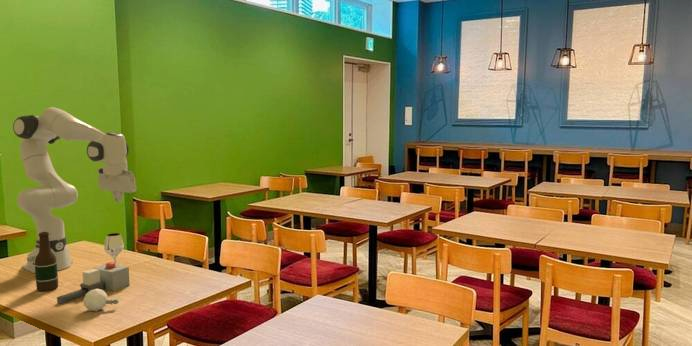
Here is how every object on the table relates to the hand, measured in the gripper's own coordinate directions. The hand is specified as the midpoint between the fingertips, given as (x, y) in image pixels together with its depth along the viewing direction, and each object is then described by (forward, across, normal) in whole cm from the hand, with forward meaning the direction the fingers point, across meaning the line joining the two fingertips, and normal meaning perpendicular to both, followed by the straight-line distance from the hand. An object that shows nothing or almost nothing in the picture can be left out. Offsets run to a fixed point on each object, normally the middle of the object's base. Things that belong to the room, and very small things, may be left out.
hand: (118, 201), depth 219 cm
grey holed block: (+34, -6, +10) cm, 36 cm away
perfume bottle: (+34, -25, +29) cm, 51 cm away
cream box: (+34, -6, +19) cm, 39 cm away
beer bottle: (+34, +14, +25) cm, 45 cm away
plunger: (+33, -6, +10) cm, 35 cm away
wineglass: (+34, +7, -2) cm, 35 cm away
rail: (+34, -6, +24) cm, 42 cm away
